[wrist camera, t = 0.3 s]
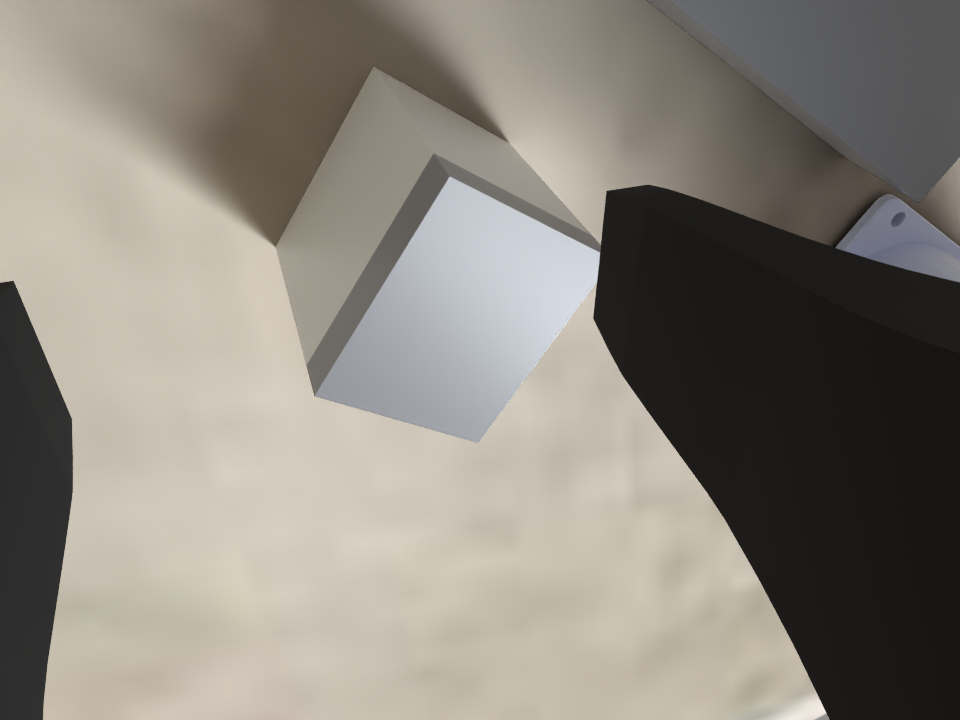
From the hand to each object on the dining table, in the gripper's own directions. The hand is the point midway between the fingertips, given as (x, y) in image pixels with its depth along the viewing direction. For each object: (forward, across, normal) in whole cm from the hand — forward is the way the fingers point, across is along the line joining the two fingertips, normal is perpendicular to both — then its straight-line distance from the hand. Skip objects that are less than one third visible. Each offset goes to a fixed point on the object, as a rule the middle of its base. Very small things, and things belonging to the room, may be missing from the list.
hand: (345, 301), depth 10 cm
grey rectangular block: (+10, -3, +3) cm, 11 cm away
